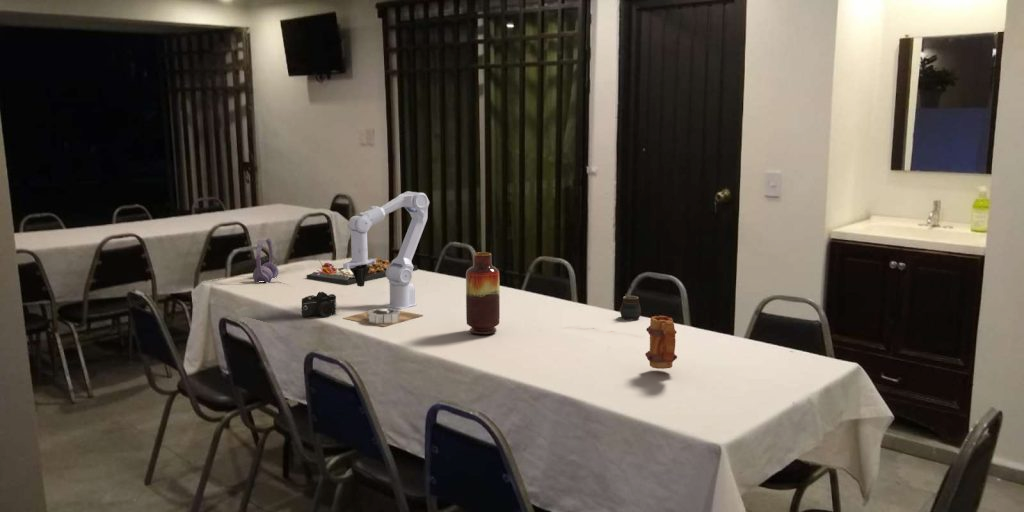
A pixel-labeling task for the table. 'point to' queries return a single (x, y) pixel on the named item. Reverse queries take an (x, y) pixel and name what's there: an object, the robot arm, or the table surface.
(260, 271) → the headphones
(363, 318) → the board
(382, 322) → the grey faceted ring
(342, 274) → the food platter
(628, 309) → the mate gourd
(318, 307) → the film camera
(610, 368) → the table surface
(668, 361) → the mug
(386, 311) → the cap
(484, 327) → the vase
